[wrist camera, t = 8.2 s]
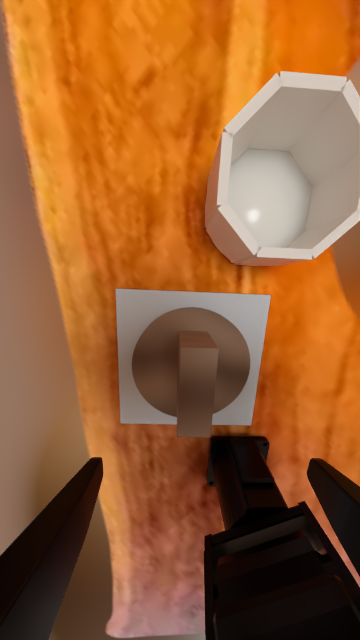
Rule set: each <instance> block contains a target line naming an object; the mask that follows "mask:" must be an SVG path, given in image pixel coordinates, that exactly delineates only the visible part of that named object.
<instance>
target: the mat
mask: <svg viewBox="0 0 360 640" xmlns="http://www.w3.org/2000/svg"><path fill="white" fill-rule="evenodd" d="M270 298H271V295H260V294H235V293H211V292H187V291H163V290H138V289H116V313H117V341H118V369H119V396H120V423H122V424H177V417H174V416H170V415H167V414H165V413H163V412H161V411H159V410H157V409H156V408H154V407H153V406H152V405H150V404H149V403H148V402H147V401H146V400H145V399H144V398H143V396H142V395H141V394H140V392H139V390H138V389H137V387H136V384H135V382H134V379H133V374H132V356H133V351H134V349H135V346H136V343H137V341H138V340H139V338H140V336H141V335H142V333H143V332H144V330H145V329H146V328H147V327H148V326H149V325H150V324H151V323H152V322H153V321H154V320H155V319H157V318H158V317H160V316H161V315H163V314H165V313H167V312H169V311H172V310H176V309H180V308H187V307H196V308H203V309H207V310H211V311H213V312H216V313H218V314H220V315H221V316H223V317H225V318H226V319H227V320H229V321H230V322H231V323H233V324H234V325H235V326H236V327H237V328H238V330H239V331H240V332H241V334H242V335H243V337H244V339H245V340H246V343H247V346H248V348H249V353H250V371H249V376H248V379H247V382H246V384H245V386H244V388H243V390H242V391H241V393H240V394H239V395H238V397H237V398H236V399H235V400H234V401H233V402H232V403H231V404H229V405H228V406H227V407H225V408H224V409H222V410H220V411H219V412H217V413H214V414H213V417H212V425H251V423H252V417H253V410H254V403H255V397H256V390H257V384H258V377H259V370H260V364H261V357H262V351H263V344H264V337H265V331H266V324H267V318H268V311H269V305H270Z"/></svg>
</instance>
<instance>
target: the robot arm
mask: <svg viewBox="0 0 360 640" xmlns="http://www.w3.org/2000/svg"><path fill="white" fill-rule="evenodd" d="M214 442H215V443H214ZM268 449H269V442H268V440H267V438H264V437H213V438H211V440H210V448H209V458H208V469H207V485H208V486H216V487H217V492H218V497H219V502H220V507H221V512H222V517H223V522H224V527H225V531H223V532H220V533H217V534H214V535H211V534H209V535H206V536H205V551H204V584H205V635H206V640H360V587H359V586H358V584H357V582H356V581H355V579H354V577H353V576H352V574H351V573H350V571H349V569H348V568H347V566H346V565H345V563H344V562H343V560H342V559H341V557H340V555H339V554H338V552H337V551H336V549H335V548H334V546H333V545H332V543H331V541H330V540H329V538H328V537H327V535H326V534H325V532H324V531H323V529H322V527H321V526H320V524H319V523H318V521H317V520H316V518H315V517H314V515H313V514H312V512H311V510H310V509H309V507H308V506H307V504H306V503H305V501H303V502H300V503H298V505H297V506H294V507H291V508H288V506H287V504H286V502H285V500H284V498H283V496H282V494H281V492H280V491H279V489H278V487H277V485H276V483H275V480H274V477H273V475H272V473H271V472H270V470H269V468H268V466H267V464H266V460H267V455H268ZM307 476H308V479H309V482H310V484H311V486H312V488H313V490H314V492H315V494H316V496H317V498H318V500H319V502H320V504H321V506H322V508H323V510H324V512H325V514H326V516H327V518H328V520H329V522H330V524H331V526H332V528H333V530H334V532H335V534H336V536H337V537H338V539H339V541H340V543H341V545H342V546H343V548H344V550H345V552H346V553H347V555H348V557H349V559H350V560H351V562H352V564H353V566H354V567H355V569H356V571H357V573H358V574H359V576H360V487H359V486H358V485H357V484H355V483H354V482H353V481H351V480H350V479H349V478H347V477H346V476H344V475H343V474H342V473H340V472H339V471H338V470H336V469H335V468H334V467H332V466H331V465H330V464H328V463H327V462H326V461H324V460H323V459H320V458H312V459H310V462H309V466H308V470H307ZM102 478H103V462H102V458H101V457H93V458H91V459H90V460H89V461H88V462H87V463H86V464H85V465H84V466H83V467H82V468H81V470H79V472H78V473H77V474H76V475H75V476H74V477H73V478H72V479H71V480H70V481H69V482H68V483H67V484H66V486H65V487H64V488H63V489H62V490H61V491H60V492H59V493H58V494H57V496H55V497H54V498H53V500H52V501H51V502H50V503H49V504H48V505H47V506H46V507H45V508H44V509H43V510H42V511H41V512H40V514H39V515H38V516H37V517H36V518H35V519H34V520H33V521H32V522H31V523H30V524H29V525H28V526H27V528H26V529H25V530H24V531H23V532H22V533H21V534H20V535H19V536H18V537H17V538H16V539H15V540H14V541H13V543H12V544H11V545H10V546H9V547H8V548H7V549H6V550H5V551H4V552H3V554H1V556H0V640H48V639H49V637H50V634H51V631H52V628H53V626H54V623H55V620H56V617H57V615H58V612H59V609H60V606H61V603H62V601H63V598H64V595H65V593H66V590H67V587H68V584H69V581H70V579H71V576H72V573H73V571H74V568H75V565H76V562H77V560H78V557H79V554H80V551H81V549H82V546H83V543H84V540H85V537H86V534H87V531H88V528H89V524H90V521H91V517H92V514H93V510H94V507H95V503H96V500H97V496H98V493H99V489H100V485H101V482H102Z"/></svg>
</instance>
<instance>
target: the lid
mask: <svg viewBox="0 0 360 640" xmlns="http://www.w3.org/2000/svg"><path fill="white" fill-rule="evenodd" d="M249 371H250V353H249V348H248V346H247V343H246V340H245V339H244V337H243V335H242V334H241V332H240V331H239V330H238V328H237V327H236V326H235V325H234V324H233V323H231V322H230V321H229V320H227V319H226V318H225V317H223V316H221V315H220V314H218V313H216V312H213V311H211V310H207V309H203V308H196V307H187V308H180V309H176V310H172V311H169V312H167V313H165V314H163V315H161V316H160V317H158V318H157V319H155V320H154V321H153V322H152V323H151V324H150V325H149V326H148V327H147V328H146V329H145V330H144V332H143V333H142V335H141V336H140V338H139V340H138V341H137V343H136V346H135V349H134V351H133V356H132V374H133V379H134V382H135V384H136V387H137V389H138V390H139V392H140V394H141V395H142V396H143V398H144V399H145V400H146V401H147V402H148V403H149V404H150V405H152V406H153V407H154V408H156V409H157V410H159V411H161V412H163V413H165V414H167V415H170V416H174V417H177V437H211V428H212V417H213V414H214V413H217V412H219V411H220V410H222V409H224V408H225V407H227V406H228V405H229V404H231V403H232V402H233V401H234V400H235V399H236V398H237V397H238V395H239V394H240V393H241V391H242V390H243V388H244V386H245V384H246V382H247V379H248V376H249Z"/></svg>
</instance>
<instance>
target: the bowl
mask: <svg viewBox="0 0 360 640" xmlns="http://www.w3.org/2000/svg"><path fill="white" fill-rule="evenodd" d="M346 79H347V77H343V76H331V75H320V74H308V73H297V72H285V71H281V72H280V74H279V76H278V74H277V73H276V74H275V75H274V76H273V77H272V78H271V79H270V80H269V81H268V82H267V84H266V85H265V86H264V87H263V88H262V89H261V90H260V91H259V92H258V93H257V94H256V95H255V96H254V97H253V98H252V99H251V100H250V101H249V102H248V103H247V104H246V106H245V107H244V108H243V109H242V110H241V111H240V112H239V113H238V114H237V115H236V116H235V117H234V118H233V119H232V120H231V121H230V122H229V123H228V124H227V125H226V126H225V128H224V130H223V132H222V135H221V138H220V141H219V144H218V148H217V151H216V154H215V157H214V161H213V164H212V167H211V170H210V174H209V177H208V185H207V197H206V202H205V228H206V232H207V233H208V234H209V236H210V238H211V240H212V242H213V244H214V245H215V247H216V248H217V249H218V250H219V251H220V252H221V254H223V255H224V256H225V257H226V258H228V259H229V260H230V261H231V263H234V264H238V265H246V266H278V265H284V264H289V263H295V262H301V261H307V260H312V259H315V258H316V257H317V256H318V255H320V254H321V253H322V252H323V251H324V250H325V249H327V248H328V247H329V246H330V245H331V244H333V243H334V242H335V241H336V240H337V239H338V238H339V237H341V236H342V235H343V234H344V233H345V232H347V231H348V230H349V229H350V228H351V227H352V226H354V225H355V224H356V223H357V222H358V221H360V97H359V95H358V93H357V91H356V89H355V87H354V86H353V84H352V82H351V80H349V81H348V82H347V83H346Z"/></svg>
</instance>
